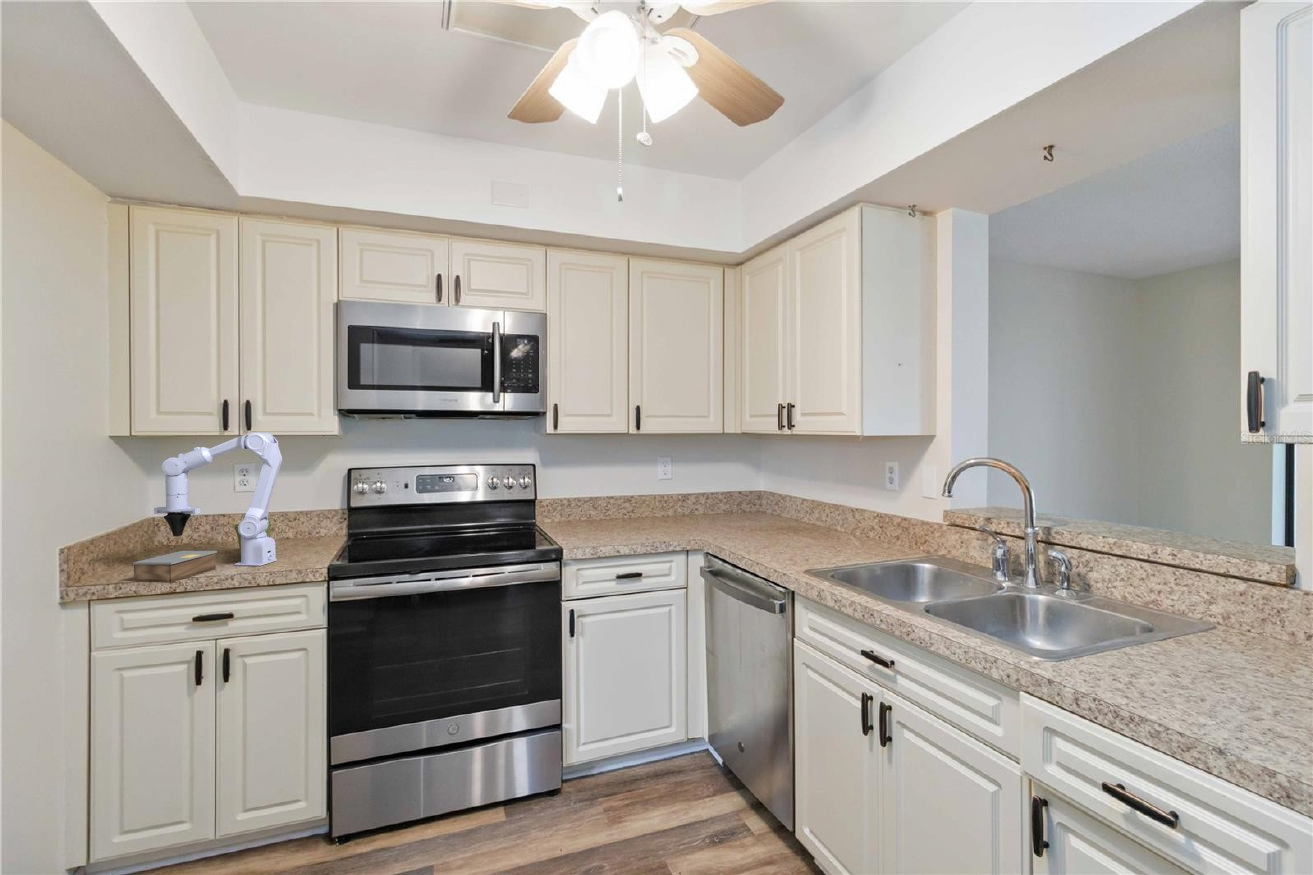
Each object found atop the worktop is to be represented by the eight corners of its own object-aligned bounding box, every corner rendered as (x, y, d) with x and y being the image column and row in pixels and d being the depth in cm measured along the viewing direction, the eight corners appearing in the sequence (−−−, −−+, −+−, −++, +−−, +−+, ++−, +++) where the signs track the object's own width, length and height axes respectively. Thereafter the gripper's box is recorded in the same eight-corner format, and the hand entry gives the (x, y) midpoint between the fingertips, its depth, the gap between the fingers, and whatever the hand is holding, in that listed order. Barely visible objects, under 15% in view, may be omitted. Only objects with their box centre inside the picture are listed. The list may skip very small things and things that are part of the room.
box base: (215, 569, 193) (215, 553, 193) (171, 582, 178) (170, 565, 177) (181, 568, 195) (181, 553, 194) (134, 581, 179) (133, 564, 179)
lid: (217, 552, 194) (216, 550, 194) (171, 564, 177) (171, 562, 177) (181, 552, 195) (181, 550, 195) (133, 564, 178) (133, 562, 178)
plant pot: (276, 555, 215) (276, 523, 214) (236, 560, 206) (236, 527, 206) (269, 550, 223) (268, 519, 223) (230, 554, 215) (229, 523, 215)
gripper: (207, 493, 198) (208, 533, 199) (167, 492, 200) (168, 533, 200) (189, 495, 191) (190, 538, 192) (147, 495, 193) (148, 537, 193)
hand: (177, 535), depth 196 cm, fingers closed
